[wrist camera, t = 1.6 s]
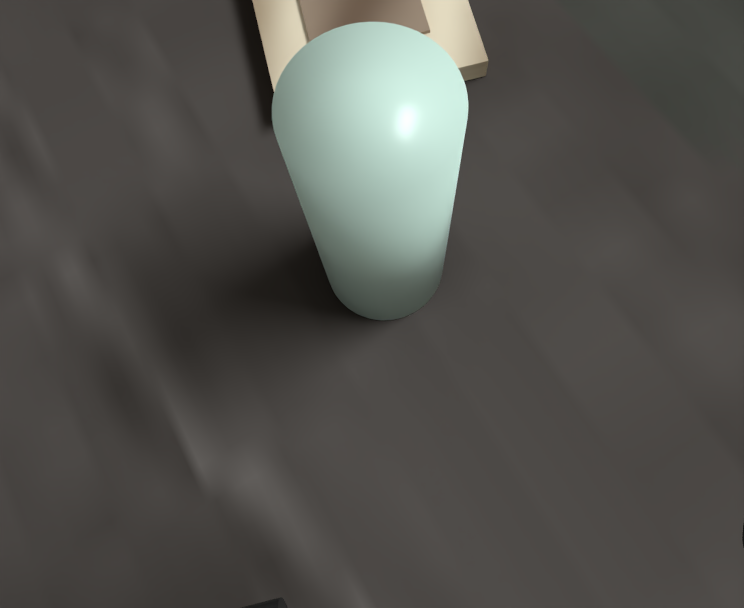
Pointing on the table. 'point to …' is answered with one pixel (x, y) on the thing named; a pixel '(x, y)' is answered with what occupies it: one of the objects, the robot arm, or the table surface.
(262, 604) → the robot arm
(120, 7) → the table surface
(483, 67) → the board
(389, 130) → the tube
